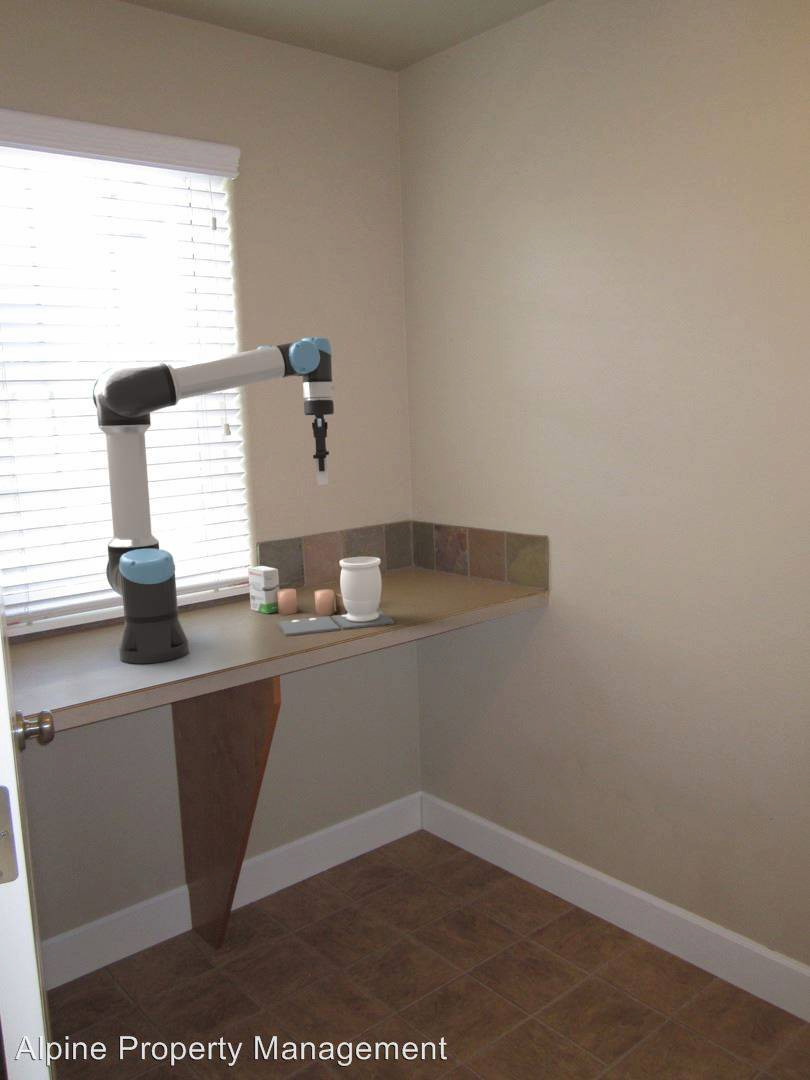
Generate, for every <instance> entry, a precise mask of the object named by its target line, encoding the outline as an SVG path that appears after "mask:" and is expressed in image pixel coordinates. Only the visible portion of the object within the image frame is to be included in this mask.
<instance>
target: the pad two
mask: <svg viewBox="0 0 810 1080" xmlns="http://www.w3.org/2000/svg"><path fill="white" fill-rule="evenodd" d="M277 625H278V627H279V628H280V629H281V631H282V632H283V633H284V635H285V637H291V636H298V635H299V636H300V635H307V634H318V633H325V632H335V630H336V631H340V626H338V624H337V623H336V622H335V621H333V619H332V618H331V617H330V616H318V617H311V618H300V619H291V620H283V621H277Z"/></svg>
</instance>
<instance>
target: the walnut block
mask: <svg viewBox="0 0 810 1080" xmlns="http://www.w3.org/2000/svg"><path fill="white" fill-rule="evenodd" d="M334 598H335V610H336V611H335V614H338V615H341V614H342V615H345V614H347V613H348V612H347V610H346V608H345V606H344V603H343V597H342V593H341V592H340V593H336V594H334Z"/></svg>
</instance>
